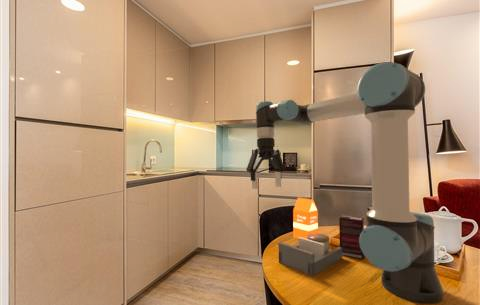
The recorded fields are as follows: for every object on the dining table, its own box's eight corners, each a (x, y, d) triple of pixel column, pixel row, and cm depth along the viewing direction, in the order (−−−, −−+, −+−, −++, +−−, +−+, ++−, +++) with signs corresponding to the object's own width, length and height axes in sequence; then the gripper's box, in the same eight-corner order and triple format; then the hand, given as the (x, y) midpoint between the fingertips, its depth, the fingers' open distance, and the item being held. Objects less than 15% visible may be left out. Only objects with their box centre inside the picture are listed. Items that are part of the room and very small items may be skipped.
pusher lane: (342, 260, 93) (342, 240, 94) (312, 279, 80) (311, 254, 80) (310, 250, 104) (310, 231, 104) (278, 264, 90) (278, 243, 90)
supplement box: (364, 257, 96) (364, 217, 97) (363, 262, 92) (363, 220, 93) (341, 253, 101) (341, 214, 101) (339, 257, 97) (338, 217, 97)
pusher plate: (324, 263, 88) (324, 244, 88) (322, 264, 87) (322, 244, 88) (300, 254, 96) (300, 237, 96) (298, 255, 95) (298, 237, 95)
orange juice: (309, 244, 111) (308, 200, 112) (293, 239, 118) (292, 198, 118) (318, 240, 117) (317, 198, 117) (302, 236, 123) (302, 196, 124)
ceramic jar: (333, 257, 95) (333, 236, 95) (322, 263, 89) (322, 241, 89) (314, 251, 101) (314, 232, 101) (303, 256, 95) (303, 236, 96)
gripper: (279, 140, 116) (281, 185, 114) (237, 137, 101) (238, 189, 99) (291, 138, 110) (293, 186, 108) (248, 135, 95) (250, 190, 93)
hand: (267, 187), depth 104 cm, fingers open, 13 cm apart
